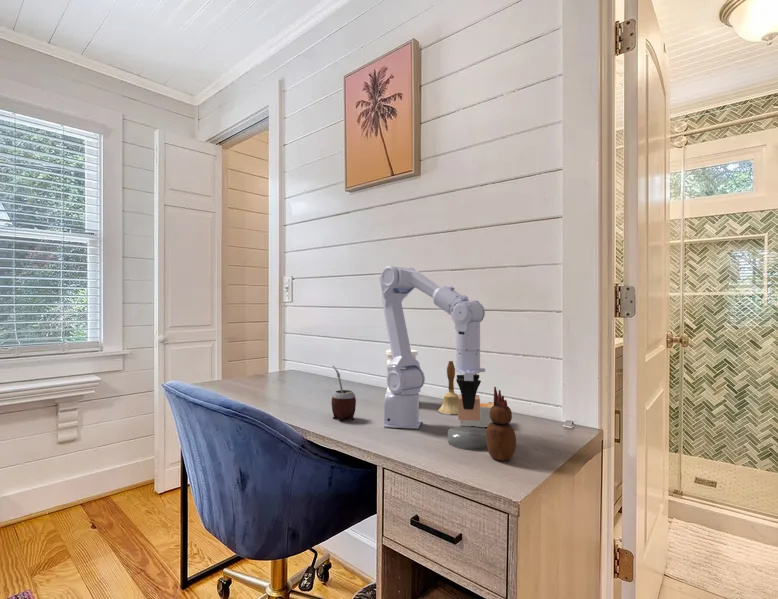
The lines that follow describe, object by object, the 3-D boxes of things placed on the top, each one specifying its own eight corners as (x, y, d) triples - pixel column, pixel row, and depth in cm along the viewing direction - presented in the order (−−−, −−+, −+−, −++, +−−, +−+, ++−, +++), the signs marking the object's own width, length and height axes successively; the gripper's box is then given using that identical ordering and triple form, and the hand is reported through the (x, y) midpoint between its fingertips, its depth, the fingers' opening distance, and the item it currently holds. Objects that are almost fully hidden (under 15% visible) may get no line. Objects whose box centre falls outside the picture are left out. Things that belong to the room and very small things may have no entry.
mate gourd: (353, 422, 120) (353, 369, 121) (325, 421, 121) (326, 368, 122) (357, 416, 128) (358, 365, 128) (332, 415, 129) (332, 365, 129)
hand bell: (460, 416, 128) (460, 363, 129) (434, 413, 132) (434, 361, 132) (467, 410, 136) (467, 360, 136) (442, 408, 139) (443, 359, 140)
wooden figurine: (482, 453, 95) (482, 385, 96) (508, 452, 96) (507, 385, 96) (492, 464, 88) (492, 391, 89) (519, 463, 89) (519, 390, 89)
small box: (499, 408, 115) (460, 405, 117) (499, 428, 115) (460, 426, 117) (498, 401, 123) (461, 399, 125) (498, 421, 123) (461, 419, 125)
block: (458, 419, 101) (458, 398, 102) (458, 414, 106) (458, 394, 106) (479, 420, 101) (479, 399, 101) (478, 415, 106) (479, 395, 106)
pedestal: (446, 448, 98) (447, 437, 99) (448, 435, 108) (448, 425, 108) (491, 450, 97) (491, 439, 97) (488, 437, 107) (488, 427, 107)
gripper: (486, 353, 96) (487, 414, 96) (483, 348, 110) (483, 400, 110) (455, 352, 97) (455, 412, 97) (455, 347, 112) (455, 399, 111)
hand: (468, 406), depth 104 cm, fingers closed on block, 5 cm apart
